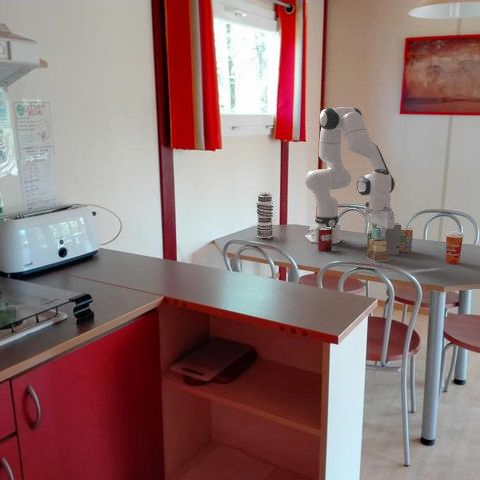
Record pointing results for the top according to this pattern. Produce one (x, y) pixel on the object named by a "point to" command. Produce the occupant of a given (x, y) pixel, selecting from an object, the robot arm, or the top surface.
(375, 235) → the teal cube
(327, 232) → the soda can
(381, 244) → the oak cube
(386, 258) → the walnut block
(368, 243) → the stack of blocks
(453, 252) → the paper cup
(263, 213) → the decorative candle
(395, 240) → the skincare box
